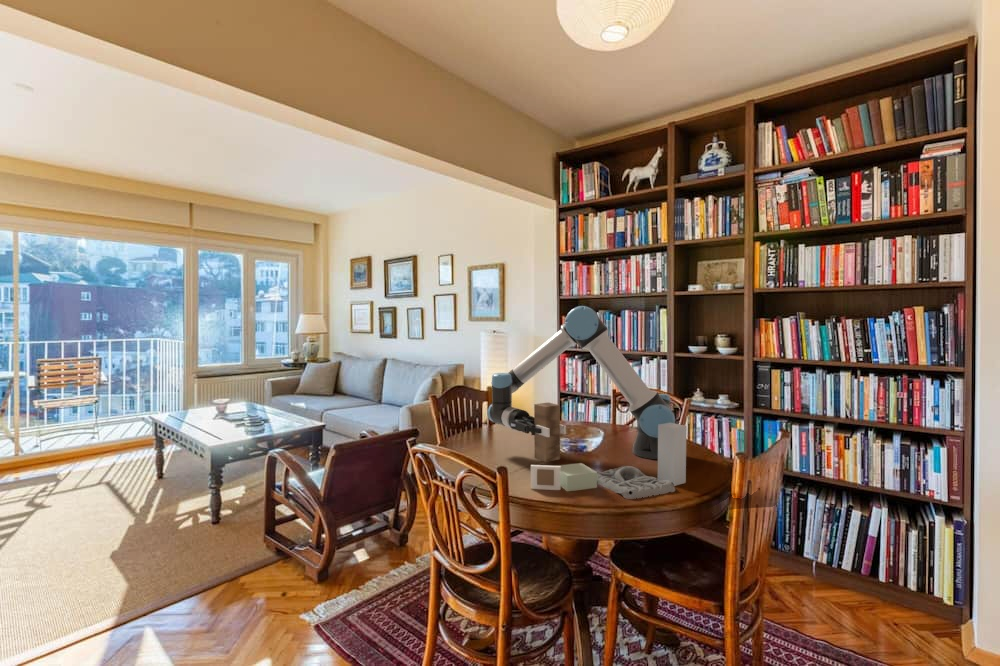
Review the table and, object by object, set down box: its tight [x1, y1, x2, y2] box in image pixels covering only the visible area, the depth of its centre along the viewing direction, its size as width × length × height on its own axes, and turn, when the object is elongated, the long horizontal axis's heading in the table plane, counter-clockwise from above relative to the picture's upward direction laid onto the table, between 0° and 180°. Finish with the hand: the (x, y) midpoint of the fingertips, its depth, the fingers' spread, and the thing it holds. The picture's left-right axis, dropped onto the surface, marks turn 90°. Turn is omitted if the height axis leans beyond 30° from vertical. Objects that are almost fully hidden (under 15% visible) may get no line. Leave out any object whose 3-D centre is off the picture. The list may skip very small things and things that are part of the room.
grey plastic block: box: [657, 422, 687, 487], centre depth 153 cm, size 6×6×18 cm
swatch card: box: [530, 464, 561, 491], centre depth 147 cm, size 2×9×7 cm, turn 83°
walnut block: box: [533, 402, 561, 463], centre depth 161 cm, size 6×6×18 cm
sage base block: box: [557, 462, 598, 492], centre depth 151 cm, size 10×10×5 cm
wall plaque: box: [594, 464, 676, 500], centre depth 152 cm, size 24×19×4 cm
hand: (556, 431), depth 157 cm, fingers closed on walnut block, 6 cm apart
